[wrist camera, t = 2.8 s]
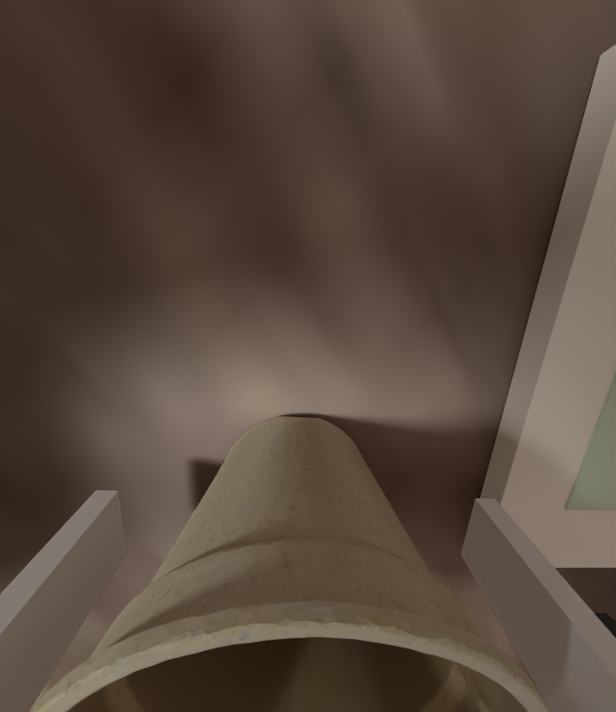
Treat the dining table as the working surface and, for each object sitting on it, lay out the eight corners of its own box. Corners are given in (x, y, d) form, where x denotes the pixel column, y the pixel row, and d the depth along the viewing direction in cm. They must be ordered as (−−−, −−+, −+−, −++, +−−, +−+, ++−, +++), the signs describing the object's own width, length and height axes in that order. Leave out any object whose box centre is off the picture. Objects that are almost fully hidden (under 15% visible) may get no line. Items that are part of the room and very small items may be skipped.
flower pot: (338, 575, 15) (390, 944, 7) (160, 518, 14) (-48, 904, 5) (435, 429, 13) (688, 716, 5) (235, 341, 11) (77, 533, 3)
